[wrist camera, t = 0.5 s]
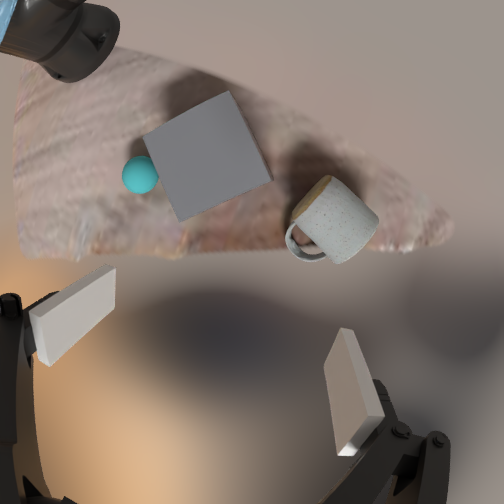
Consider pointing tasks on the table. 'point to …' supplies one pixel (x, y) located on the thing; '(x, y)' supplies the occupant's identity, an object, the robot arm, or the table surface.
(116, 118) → the table surface
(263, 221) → the table surface
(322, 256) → the ceramic mug
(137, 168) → the ball
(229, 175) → the grey cube
